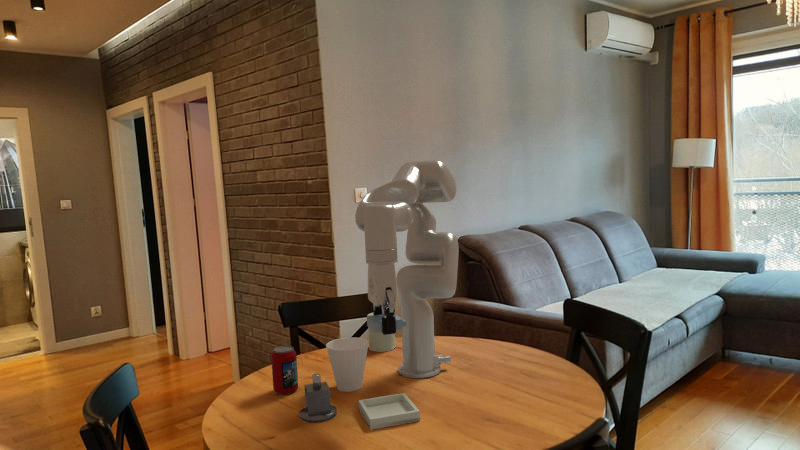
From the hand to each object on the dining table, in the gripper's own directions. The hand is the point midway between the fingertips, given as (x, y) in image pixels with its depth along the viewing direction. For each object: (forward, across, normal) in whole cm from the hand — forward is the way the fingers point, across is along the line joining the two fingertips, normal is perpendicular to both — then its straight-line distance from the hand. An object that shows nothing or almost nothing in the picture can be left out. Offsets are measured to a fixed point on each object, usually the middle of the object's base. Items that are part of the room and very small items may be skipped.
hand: (384, 329), depth 133 cm
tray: (+21, 0, 0) cm, 21 cm away
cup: (+21, -22, -5) cm, 31 cm away
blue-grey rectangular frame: (0, 0, 0) cm, 0 cm away
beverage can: (+21, -26, -22) cm, 40 cm away
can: (+21, -53, +13) cm, 59 cm away
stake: (+21, -7, -16) cm, 28 cm away
